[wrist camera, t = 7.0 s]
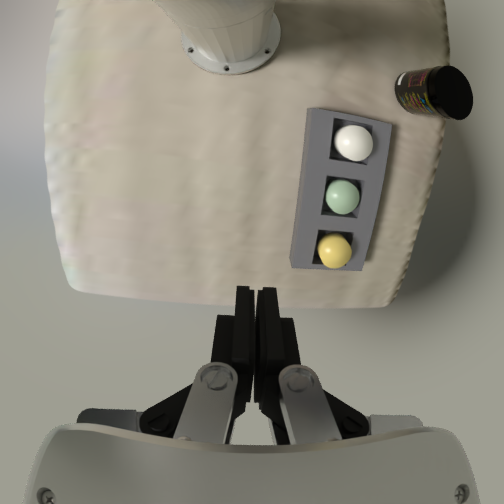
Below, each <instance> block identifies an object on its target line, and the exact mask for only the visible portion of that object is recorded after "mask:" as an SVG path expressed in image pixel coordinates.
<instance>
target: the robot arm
mask: <svg viewBox="0 0 504 504" xmlns="http://www.w3.org/2000/svg"><path fill="white" fill-rule="evenodd" d="M153 1H154V2H155V3H156V4H157V5H158V6H159V7H160V8H161V9H162V10H163V11H164V12H165V13H166V15H167V16H168V17H169V18H170V19H171V20H172V21H173V22H174V23H175V24H176V25H177V27H178V28H179V29H180V30H181V42H182V46H183V49H184V51H185V53H186V55H187V56H188V57H189V59H190V60H191V61H192V62H193V63H194V64H196V65H197V66H199V67H200V68H202V69H203V70H206V71H208V72H211V73H215V74H219V75H237V74H242V73H246V72H249V71H252V70H254V69H256V68H258V67H260V66H261V65H263V64H264V63H265V62H266V61H267V60H269V59H270V58H271V56H272V55H273V54H274V52H275V51H276V49H277V47H278V44H279V41H280V36H281V28H280V23H279V20H278V18H277V16H276V14H275V13H274V12H273V11H274V6H275V2H276V0H153ZM191 50H194V52H192V53H190V51H191ZM265 51H268V52H269V53H268V54H266V53H265ZM226 68H229V71H226ZM253 375H254V402H255V403H257V402H258V403H259V409H260V410H261V412H262V413H263V414H264V415H266V416H267V417H268V421H269V426H270V430H271V435H272V439H273V443H274V445H263V446H262V445H230V444H231V439H232V435H233V431H234V426H235V422H236V418H237V417H239V416H240V415H241V414H243V413H244V412H245V407H246V402H250V399H251V390H252V383H253ZM23 504H480V499H479V495H478V491H477V487H476V483H475V479H474V475H473V472H472V470H471V466H470V463H469V460H468V458H467V455H466V453H465V451H464V449H463V447H462V445H461V443H460V441H459V440H458V438H457V437H456V436H455V435H454V434H453V433H452V432H450V431H448V430H445V429H442V428H436V427H423V424H422V422H421V421H420V419H418V418H417V417H415V416H411V415H370V417H367V416H364V415H363V414H362V413H360V412H359V411H357V410H355V409H353V408H352V407H350V406H349V405H347V404H345V403H344V402H342V401H341V400H339V399H337V398H336V397H334V396H333V395H331V394H330V393H328V392H326V391H325V390H323V389H322V386H321V383H320V381H319V378H318V376H317V375H316V373H315V372H314V371H313V370H312V369H311V368H309V367H307V366H303V365H301V362H300V355H299V350H298V344H297V339H296V332H295V327H294V322H293V318H280V315H279V307H278V299H277V291H276V288H273V287H263V290H258V296H257V306H256V317H255V301H254V290H249V286H237V291H236V305H235V316H231V315H217V320H216V327H215V334H214V341H213V348H212V356H211V363H208V364H206V365H204V366H202V367H201V368H200V369H199V370H198V372H197V374H196V377H195V379H194V382H193V383H192V384H191V385H189V386H187V387H185V388H184V389H182V390H181V391H179V392H177V393H175V394H174V395H172V396H170V397H168V398H167V399H165V400H163V401H161V402H160V403H158V404H156V405H154V406H152V407H150V408H148V409H147V410H146V411H144V412H137V411H136V410H120V409H96V408H89V409H85V410H84V411H82V412H81V413H80V414H79V416H78V418H77V423H74V424H65V425H61V426H58V427H55V428H54V429H52V430H51V431H50V432H49V433H48V434H47V436H46V437H45V439H44V440H43V442H42V444H41V446H40V448H39V450H38V452H37V455H36V457H35V460H34V462H33V465H32V468H31V471H30V474H29V478H28V482H27V486H26V490H25V494H24V499H23Z"/></svg>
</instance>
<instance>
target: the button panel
mask: <svg viewBox="0 0 504 504" xmlns="http://www.w3.org/2000/svg"><path fill="white" fill-rule="evenodd" d="M344 125H355V126H361V127H363V128H365V129H366V130H367V131H368V132H369V133H370V135H371V137H372V140H373V148H372V151H371V153H370V155H369V156H368V157H367V158H365V159H364V160H361V161H353V160H350V159H348V158H346V157H344V156H342V155H340V154H339V153H338V152H337V150H336V149H335V146H334V135H335V133H336V131H337V130H338V129H339V128H340V127H342V126H344ZM391 129H392V124H388V123H384V122H381V121H377V120H372V119H368V118H364V117H359V116H355V115H350V114H345V113H340V112H334V111H328V110H322V109H316V108H308V109H307V117H306V127H305V137H304V147H303V157H302V166H301V174H300V183H299V191H298V199H297V207H296V215H295V222H294V230H293V237H292V244H291V251H290V262H291V266H292V268H303V269H325V270H349V271H362V268H363V265H364V261H365V258H366V254H367V250H368V247H369V243H370V239H371V235H372V231H373V227H374V223H375V219H376V214H377V210H378V205H379V201H380V196H381V191H382V186H383V181H384V175H385V169H386V164H387V157H388V151H389V144H390V137H391ZM334 178H344V179H346V180H347V181H349V182H350V183H351V184H353V185H354V186H355V187H356V188H357V190H358V192H359V203H358V205H357V207H356V208H355V209H354V210H353V211H352V212H350V213H347V214H338V213H336V212H334V211H333V210H332V209H331V208H330V207H329V205H328V204H327V203H326V201H325V199H324V191H325V186H326V184H327V183H328V182H329V181H330V180H332V179H334ZM330 232H337V233H340V234H341V235H343V236H344V238H345V239H346V241H347V242H348V244H349V245H350V247H351V250H352V254H351V258H350V260H349V261H348V262H347V263H346V264H345V265H344V266H342V267H340V268H329V267H327V266H325V265H324V264H323V262H322V260H321V258H320V255H319V253H318V250H317V245H318V242H319V240H320V239H321V238H322V237H323V236H324V235H325V234H327V233H330Z"/></svg>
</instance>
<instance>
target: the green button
mask: <svg viewBox="0 0 504 504" xmlns="http://www.w3.org/2000/svg"><path fill="white" fill-rule="evenodd" d="M324 199H325V201H326V203H327V204H328V205H329V207H330V208H331V209H332V210H333V211H334V212H336V213H338V214H347V213H350V212H352V211H353V210H354V209H355V208H356V207H357V205H358V203H359V192H358V190H357V188H356V187H355V186H354V185H353V184H351V183H350V182H349V181H347V180H346V179H344V178H334V179H332V180H330V181H329V182H328V183H327V184H326V186H325V191H324Z"/></svg>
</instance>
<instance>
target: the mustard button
mask: <svg viewBox="0 0 504 504" xmlns="http://www.w3.org/2000/svg"><path fill="white" fill-rule="evenodd" d="M317 250H318V253H319V255H320V258H321V260H322V262H323V264H324V265H325V266H327V267H329V268H340V267H342V266H344V265H345V264H346V263H347V262H348V261H349V260H350V258H351V254H352V250H351V247H350V245H349V244H348V242H347V241H346V239H345V238H344V236H343V235H341V234H340V233H337V232H330V233H327V234H325V235H324V236H323V237H322V238H321V239H320V240H319V242H318V245H317Z"/></svg>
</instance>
